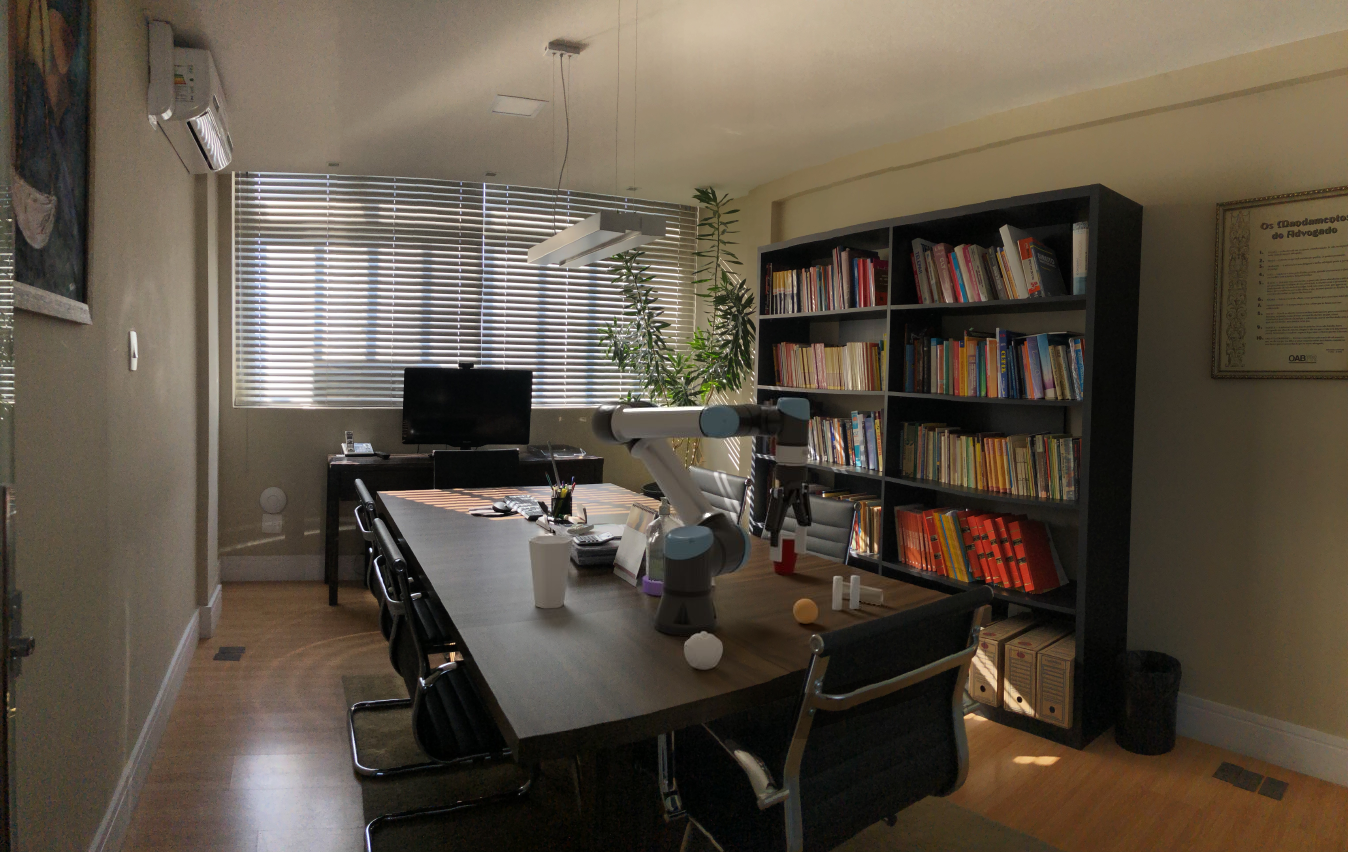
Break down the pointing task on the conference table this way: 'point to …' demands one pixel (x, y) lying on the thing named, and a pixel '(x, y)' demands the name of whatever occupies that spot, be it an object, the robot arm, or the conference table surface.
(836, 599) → the pin
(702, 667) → the white round lump
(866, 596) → the stop wall
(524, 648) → the conference table surface
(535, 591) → the cup
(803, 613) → the ball
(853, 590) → the pin
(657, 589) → the masking tape
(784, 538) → the plastic cup
